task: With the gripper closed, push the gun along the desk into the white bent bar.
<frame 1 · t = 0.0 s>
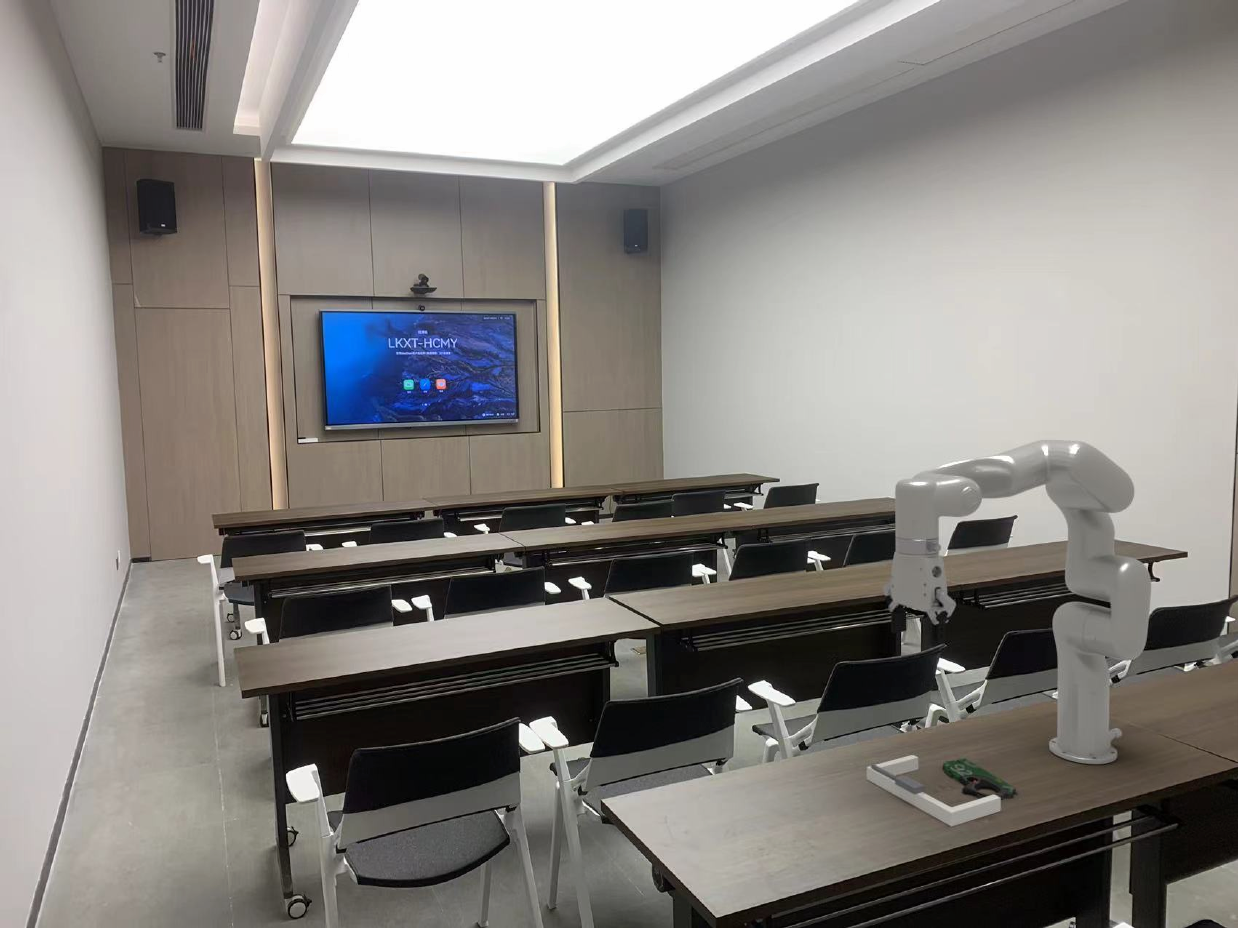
hand: (917, 638, 164), 31 cm above the table, tool pointing down, fingers open, 9 cm apart
white bent bar: (938, 792, 170), on the table
gun: (973, 785, 174), on the table
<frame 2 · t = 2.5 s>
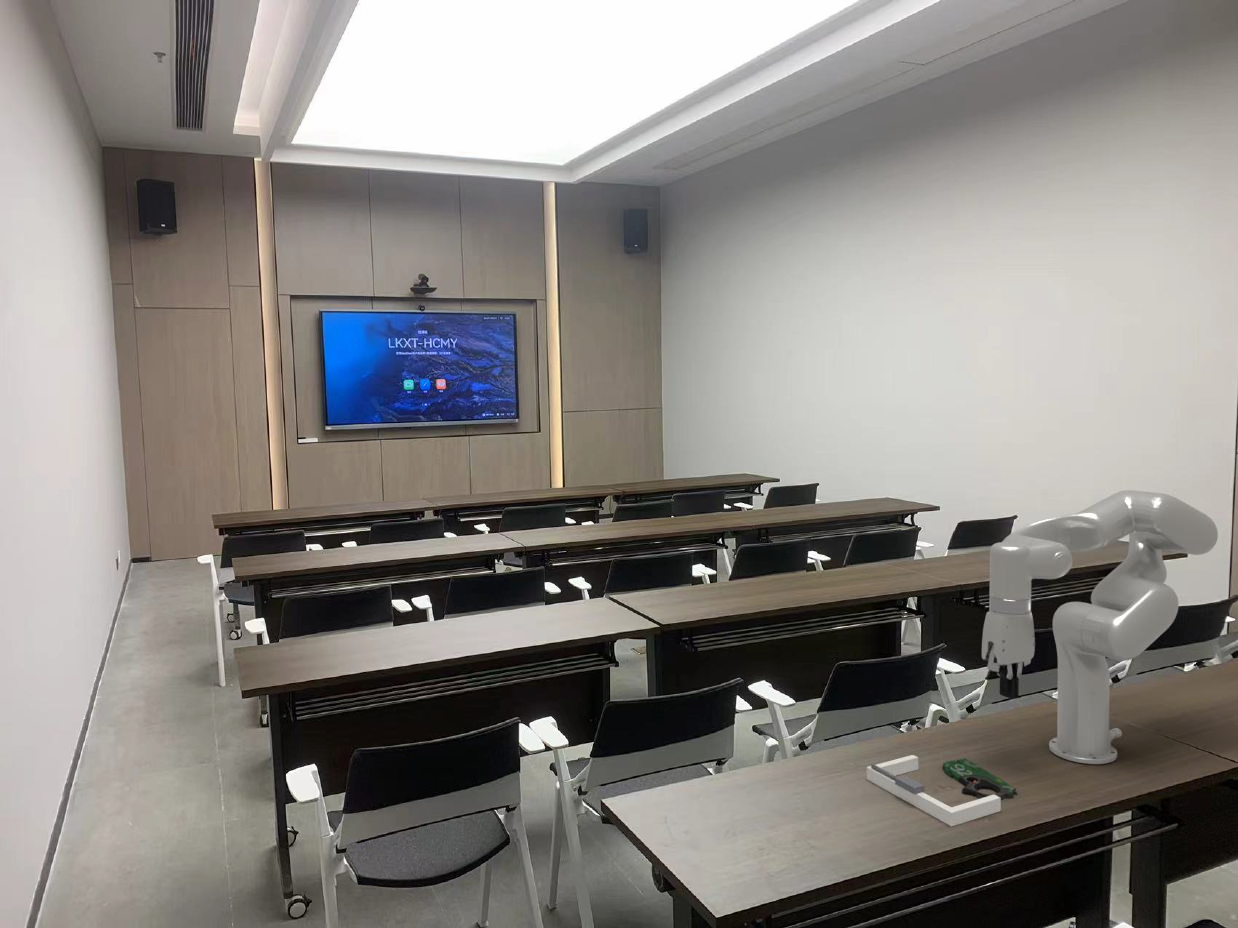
hand: (1008, 696, 177), 15 cm above the table, tool pointing down, fingers closed
nothing on the table moved.
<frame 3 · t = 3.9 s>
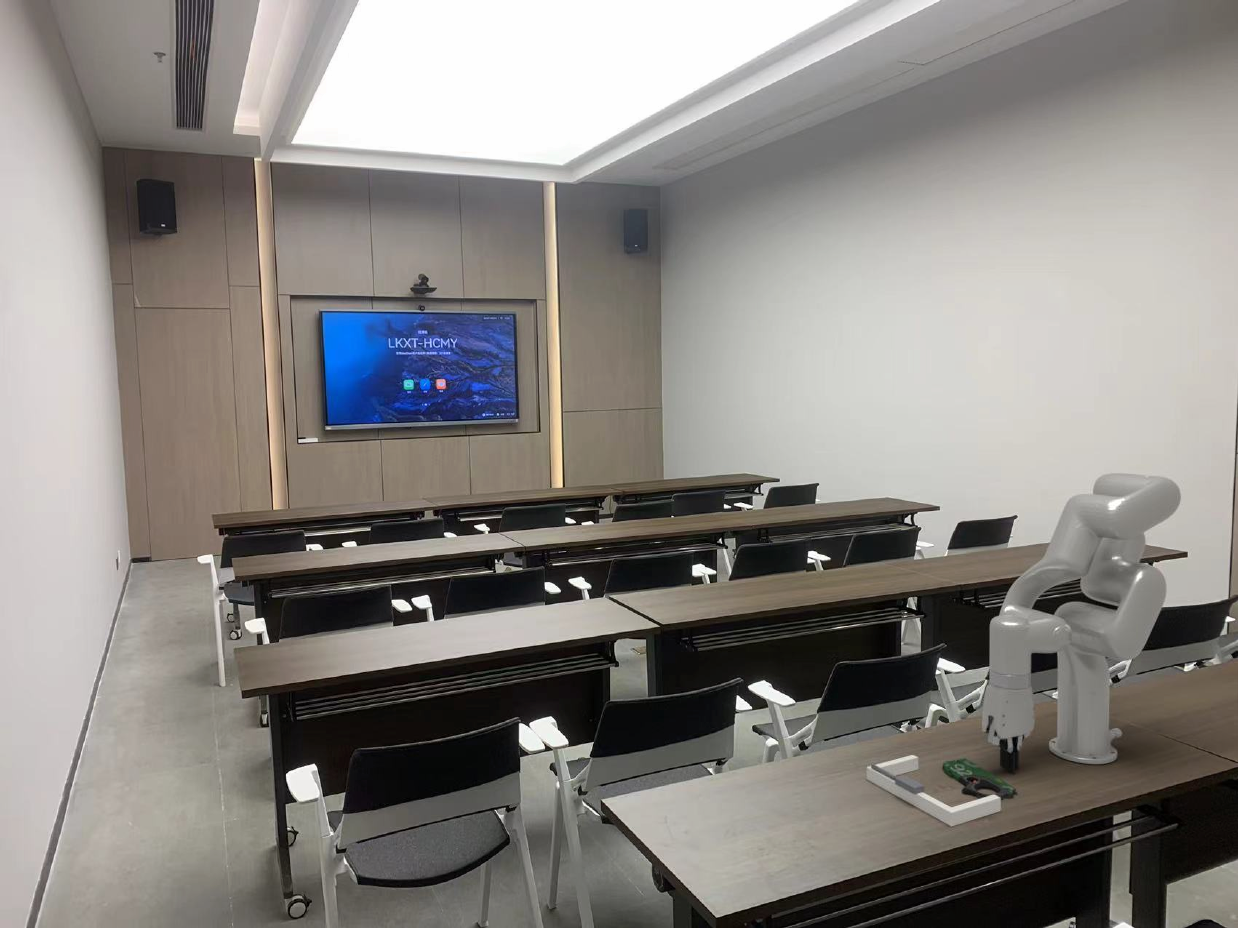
hand: (1009, 768, 178), 1 cm above the table, tool pointing down, fingers closed
nothing on the table moved.
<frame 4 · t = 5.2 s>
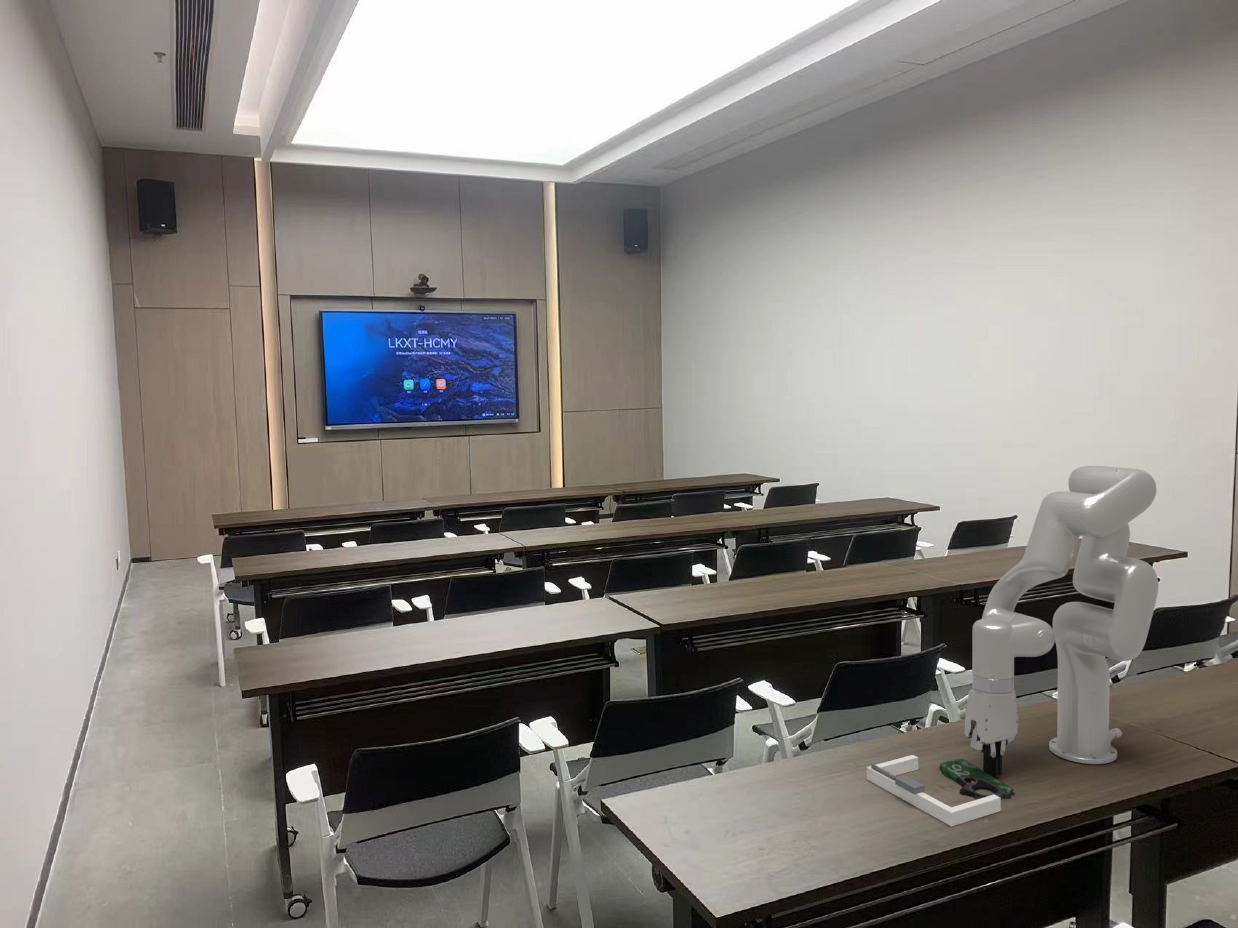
hand: (992, 773, 176), 1 cm above the table, tool pointing down, fingers closed
gun: (970, 785, 174), on the table, touching gripper
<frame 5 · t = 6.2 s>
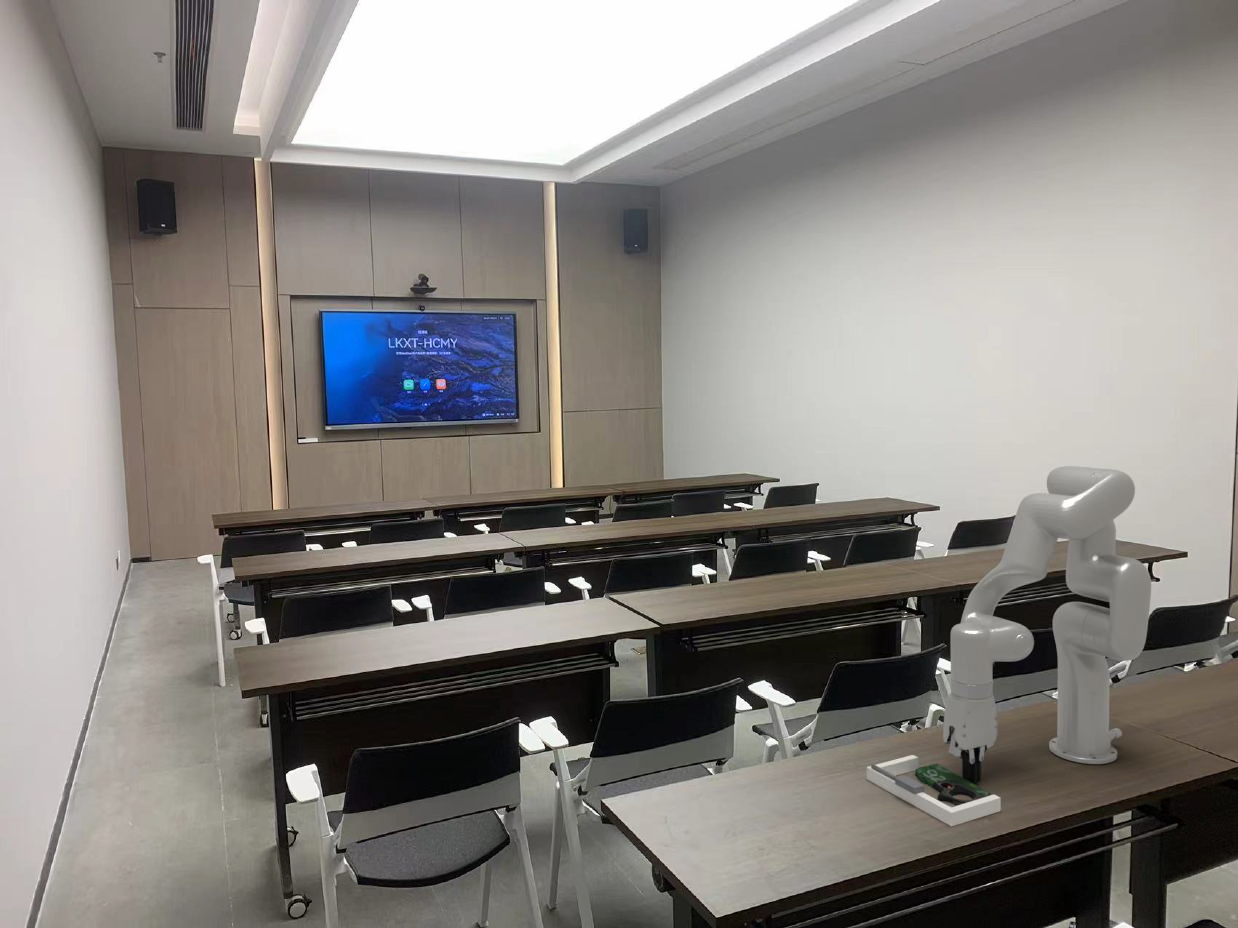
hand: (971, 779, 174), 1 cm above the table, tool pointing down, fingers closed
gun: (947, 791, 172), on the table, touching gripper
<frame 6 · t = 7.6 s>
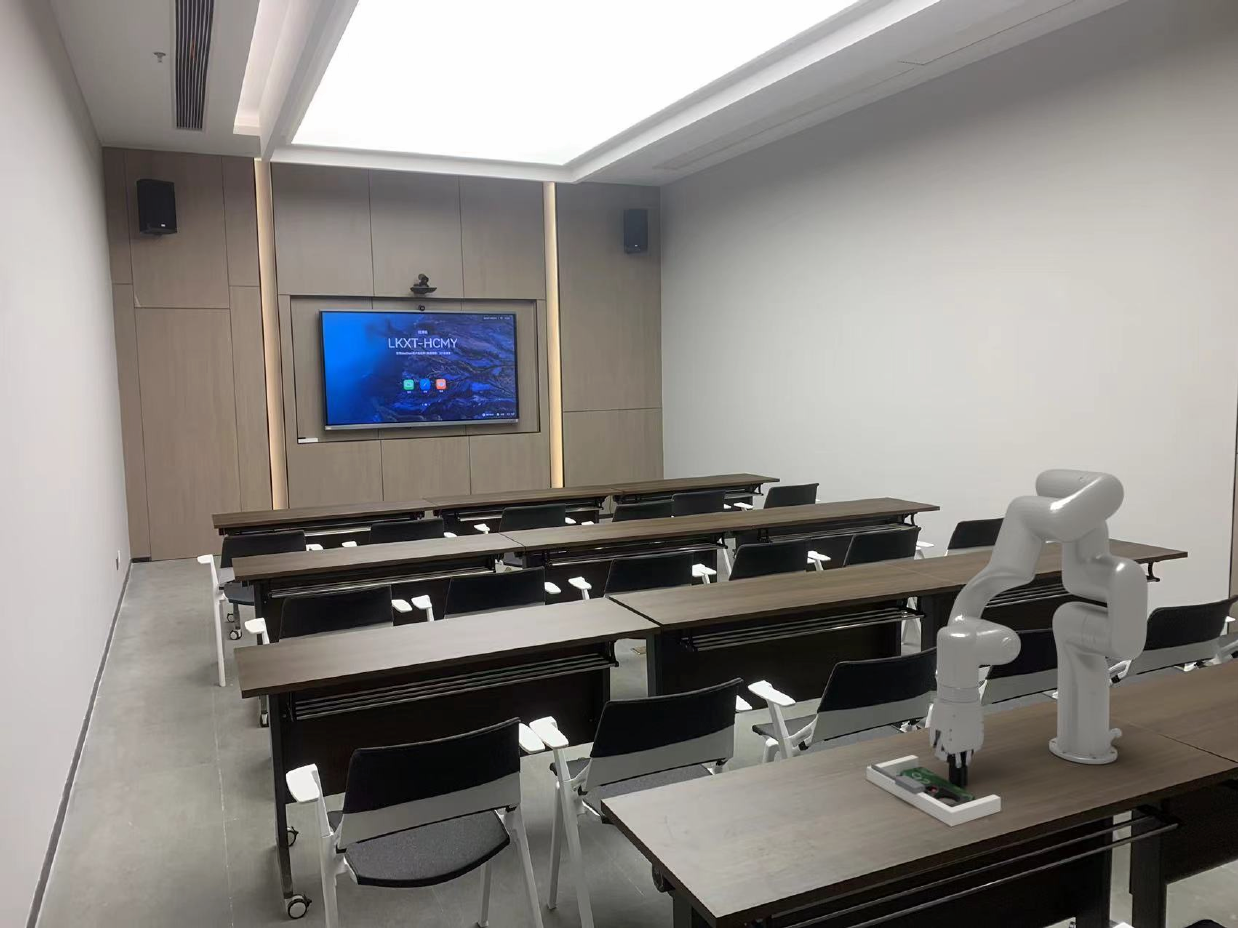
hand: (958, 783, 172), 0 cm above the table, tool pointing down, fingers closed
gun: (931, 794, 171), on the table
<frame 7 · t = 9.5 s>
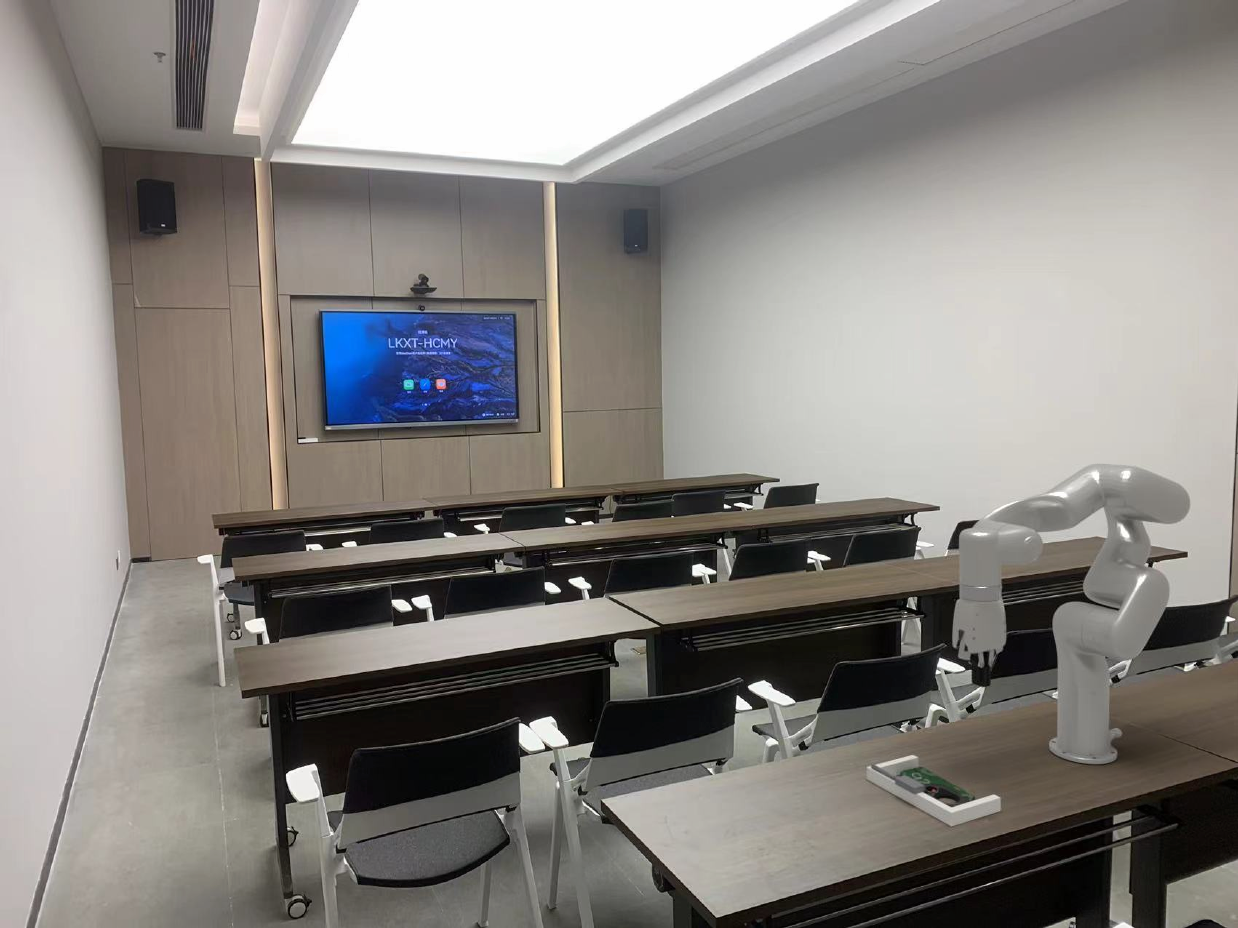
hand: (981, 684, 173), 19 cm above the table, tool pointing down, fingers closed
nothing on the table moved.
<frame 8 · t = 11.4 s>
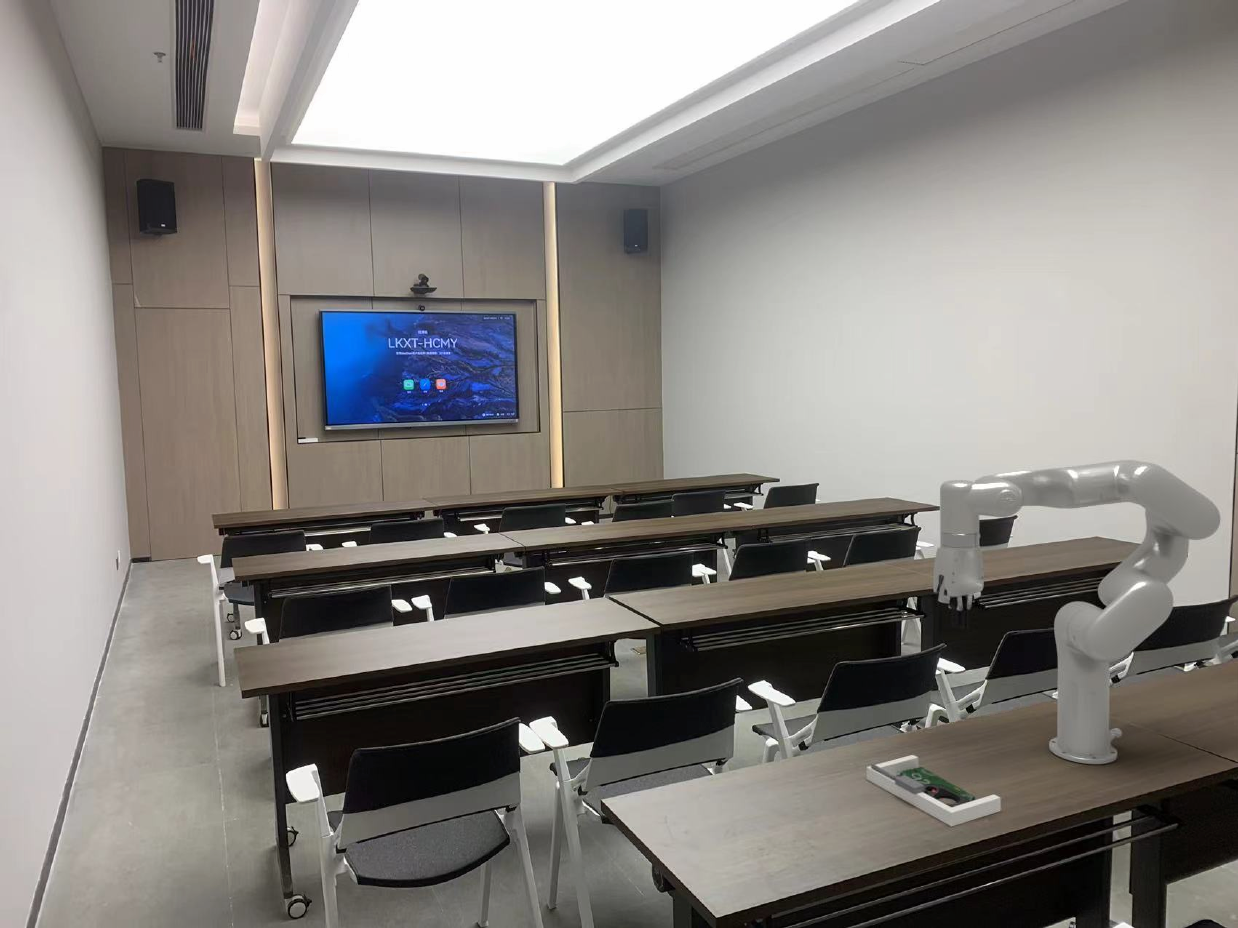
hand: (959, 627, 185), 27 cm above the table, tool pointing down, fingers closed
nothing on the table moved.
at the end: gun 1.0 cm off-centre on the white bent bar, point -0.7 cm above the white bent bar's base; gun moved 9.9 cm from its start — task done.
